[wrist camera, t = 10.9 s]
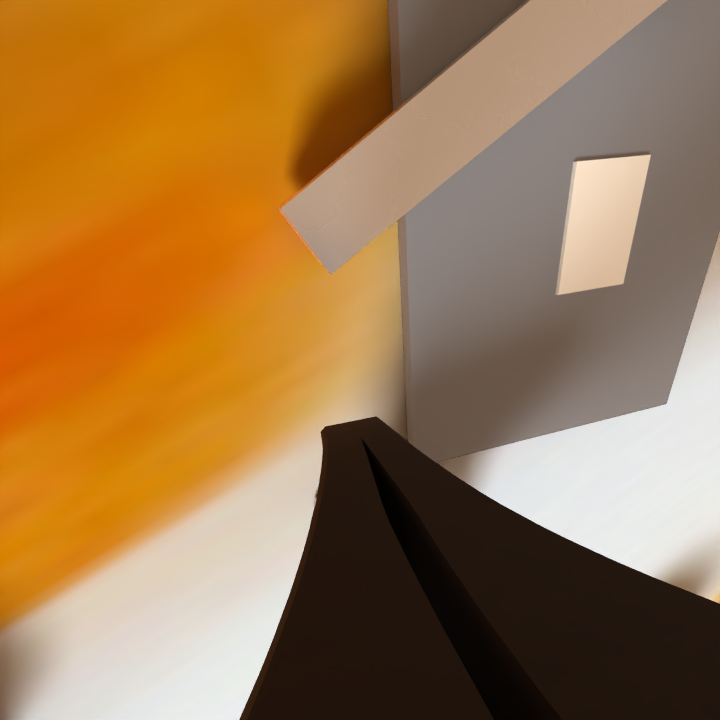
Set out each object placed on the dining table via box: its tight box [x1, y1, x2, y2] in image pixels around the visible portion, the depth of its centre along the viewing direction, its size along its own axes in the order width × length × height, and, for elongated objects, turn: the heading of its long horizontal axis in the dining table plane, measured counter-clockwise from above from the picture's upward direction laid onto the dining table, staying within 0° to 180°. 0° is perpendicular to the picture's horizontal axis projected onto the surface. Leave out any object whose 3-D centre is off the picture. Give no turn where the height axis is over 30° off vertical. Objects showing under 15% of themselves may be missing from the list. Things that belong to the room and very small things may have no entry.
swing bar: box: [277, 0, 667, 274], centre depth 12 cm, size 18×3×3 cm, turn 126°
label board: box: [388, 0, 720, 462], centre depth 18 cm, size 24×18×1 cm
